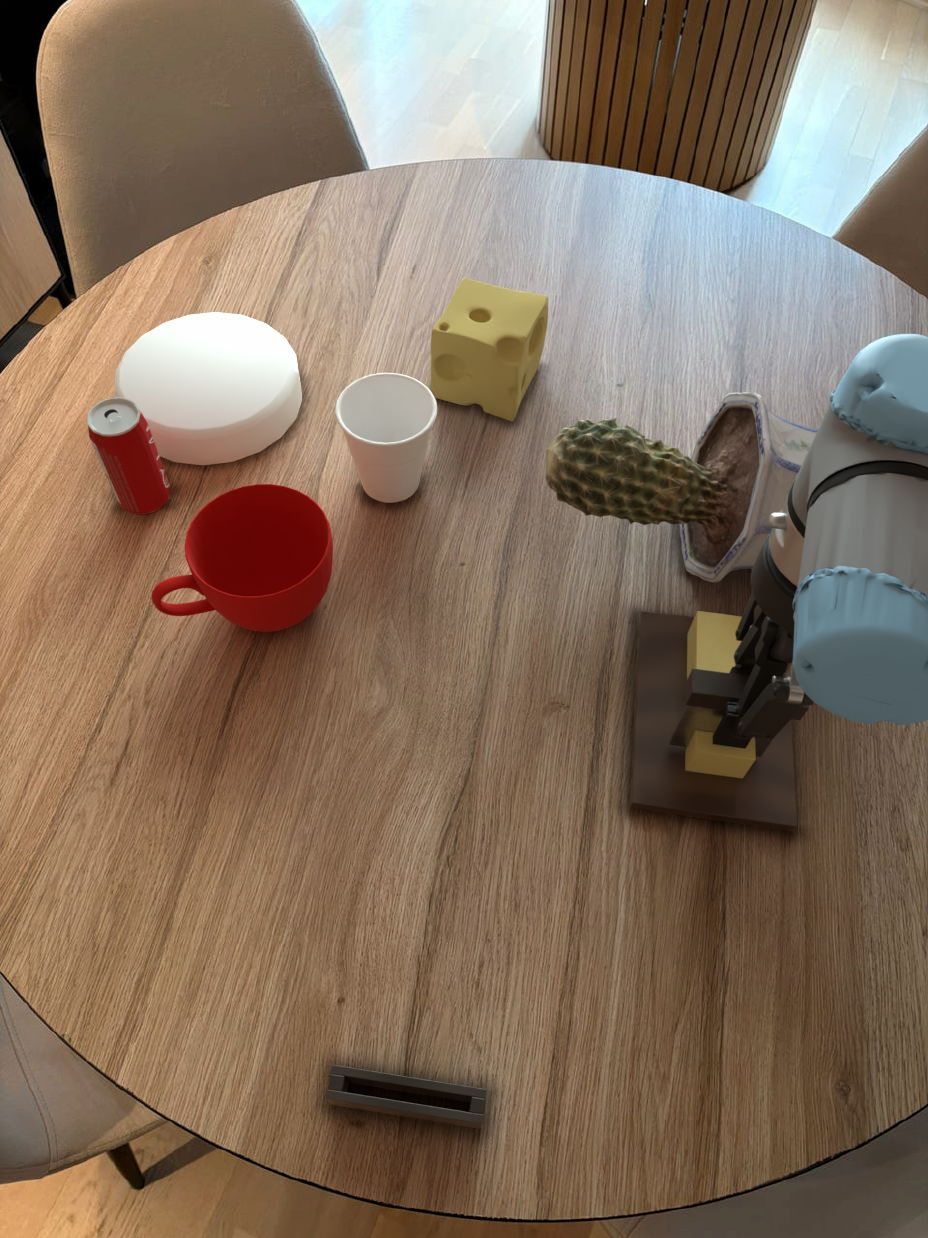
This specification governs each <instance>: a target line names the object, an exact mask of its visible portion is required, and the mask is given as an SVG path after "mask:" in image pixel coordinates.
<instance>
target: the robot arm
mask: <svg viewBox="0 0 928 1238" xmlns="http://www.w3.org/2000/svg"><path fill="white" fill-rule="evenodd" d="M828 399H829V404H828V407H827V409H826V411H825V413H824V415H823V417H822V420H821V422H820V424H819V427H818V429H817V430H818V431H817V433H816V435H815V437H814V439H813V442H812V444H811V446H810V448H809V450H808V452H807V455H806V457H805V459H804V461H803V463H802V465H801V468H800V470H799V472H798V474H797V476H796V479H795V481H794V483H793V485H792V487H791V489H790V491H789V494H788V496H787V498H786V500H785V502H784V505H783V507H782V509H781V511H780V513H773V514H771V515H770V518H769V521H768V524H769V526H770V527H771V528H772V530H771V533H770V534H769V535H768V537H767V538H766V540H765V542H764V545H763V547H762V549H761V551H760V553H759V555H758V557H757V559H756V562H755V564H754V566H753V568H751V573H750V589H751V594H750V597H749V598H748V601H747V604H746V606H745V609H744V611H743V613H742V615H741V617H742V618H741V621H740V623H739V626H738V628H737V630H736V633H735V636H736V640H737V641H742V642H741V643H740V645H739V647H738V648H737V650H736V651H735V654H734V659H735V666H734V667H732V669H731V671H730V672H729V673H731V674H739V675H746V676H750V677H749V679H748V681H747V683H746V685H745V688H744V690H743V692H742V694H741V696H740V698H739V700H737V699H733V700H732V702H727V705H726V712H725V714H724V716H723V718H722V720H721V722H720V723H719V725H718V727H717V729H716V731H715V733H714V734H713V744H715V745H722V746H729V747H736V748H744V749H746V747H747V745H748V744H749V742H750V741H751V739H752V737H759V738H767V739H773V738H774V737H775V736H776V735H777V734H778V733H779V732H780V731H781V730H782V729H783V728H784V726H785V725H786V724H787V723H788V722H789V721H790V720H791V719H792V718H793V717H794V716H795V715H796V713H797V712H798V711H799V710H800V709H801V708H802V707H803V706H809V707H810V706H813V705H814V703H815V704H816V705H818V706H819V707H820V708H821V709H824V710H825V711H827V712H829V713H831V714H833V715H835V716H837V717H840V718H843V719H846V720H850V721H852V722H857V723H862V724H867V725H873V724H875V723H878V722H889V723H891V724H894V725H896V726H904V725H913V724H918V723H922V722H926V721H928V336H925V335H923V334H920V333H899V334H892V335H888V336H884V337H881V338H878V339H875V340H874V341H872V342H870V343H868V344H867V345H866V346H864V347H863V348H862V349H860V350H859V351H858V353H857V354H856V355H855V357H854V358H853V359H852V361H851V362H850V364H849V366H848V367H847V370H846V371H845V373H844V375H843V377H842V378H841V380H840V381H839V383H838V385H837V386H836V388H835V389H834V390H832V391H831V393H830V395H829V398H828ZM751 625H752V626H751ZM750 626H751V627H750Z"/></svg>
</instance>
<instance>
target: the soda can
mask: <svg viewBox="0 0 928 1238" xmlns="http://www.w3.org/2000/svg"><path fill="white" fill-rule="evenodd" d="M86 418H87V419H86V421H87V422H86V423H87V427H88V437H89V440H90V442H91V445H92V447H93V450H94V452H95V453H96V456H97V459H98V460H99V464H100V465H101V468H102V470H103V472H104V475H105V476H106V479H107V481H108V483H109V486H110V488H111V490H112V493H113V495H114V497H115V500H116V502H117V504H118V505H119V506H120V507H121V508H122V510H124V511H125V512H129V513H131V514H135V515H147V514H150V513H154V512H156V511H158V510H160V509H161V508H162V507H164V506H165V505H166V504H167V502H168V501H169V499H170V495H171V491H172V487H171V484H170V482H169V479H168V477H167V473H166V470H165V468H164V464H163V462H162V459H161V456H159V453H158V451H157V448H156V445H155V442H154V439H153V437H152V434H151V431H150V428H149V425H148V423H147V421H146V419H145V417H144V415H143V414H142V412H141V411H140V410H139V408H138V407H137V405H136V404H135V402H133V401H132V400H130V399H127V398H121V397H116V396H115V397H109V398H106V399H103V400H101V401H98V402H97V403H96V404H94V405H93V406H92V407H91V408H90V410H88V413H87V415H86Z"/></svg>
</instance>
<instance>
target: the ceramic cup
mask: <svg viewBox="0 0 928 1238" xmlns="http://www.w3.org/2000/svg"><path fill="white" fill-rule="evenodd" d="M331 528H332V527H331V524H330V522H329V519H328V517H327V515H326V513H325V511H324V510H323V509H322V507H321V506H320V505H319V504H318V502H316V501H315V500H313V498H311V497H310V496H309V495H307V494H305V493H303V492H301V491H300V490H297V489H295V488H292V487H289V486H285V485H280V484H274V483H256V484H249V485H244V486H240V487H237V488H233V489H230V490H228V491H226V492H224V493H221V494H220V495H218V496H216V497H215V498H213V499H212V500H210V501H209V502H207V503H206V504H205V506H203V507H202V508H201V509H200V510H199V511H198V512H197V514H196V515H195V516H194V518H193V519H192V521H191V522H190V524H189V527H188V529H187V531H186V534H185V540H184V555H185V559H186V562H187V566H188V568H189V571H190V573H191V574H185V575H176V576H171V577H169V578H168V577H167V578H165V579H164V580H162V581H160V582H158V583H157V584H156V585H155V586H154V587H153V590H152V591H151V600H152V601H151V602H152V604H153V606H154V607H155V608H156V610H157V611H159V612H160V613H162V614H164V615H168V616H172V617H189V616H194V615H200V614H204V613H208V612H214V611H216V612H217V613H218V614H219V615H221V616H222V618H224V619H226V620H227V621H229V622H230V623H233V624H234V625H236V626H238V627H241V628H243V629H247V630H249V631H255V632H276V631H282V630H286V629H288V628H292V627H294V626H296V625H298V624H299V623H301V622H302V621H304V620H305V619H307V618H308V617H309V616H310V615H311V614H312V613H313V612H314V611H315V610H316V609H317V608H318V607H319V605H320V604H321V602H322V600H323V599H324V597H325V595H326V593H327V591H328V588H329V585H330V582H331V578H332V572H333V561H334V559H333V558H334V540H333V535H332V529H331ZM181 589H191V590H193V591H195V592H197V593H199V594H200V595H201V596H203V597H205V598H203V599H200V600H195V601H190V602H183V603H171V602H166V601H163V600H162V599H163V598H164V597H165V596H166V595H168V594H169V593H172V592H175V591H177V590H181Z"/></svg>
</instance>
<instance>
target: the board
mask: <svg viewBox="0 0 928 1238" xmlns="http://www.w3.org/2000/svg"><path fill="white" fill-rule="evenodd" d="M694 617H695V616H694ZM694 617H693V616H688V615H687V616H686V615H678V614H671V613H662V612H655V611H650V610H649V611H648V610H640V613H639V615H638V626H637V628H638V629H637V648H636V665H635V666H636V668H635V689H634V709H633V710H634V711H633V730H632V749H631V768H630V769H631V770H630V772H631V773H630V789H629V790H630V791H629V809H633V810H641V811H646V812H647V811H648V812H655V813H661V814H668V815H676V816H682V817H690V818H696V819H703V820H711V821H717V822H723V823H724V822H725V823H733V824H737V825H738V824H739V825H744V826H753V827H759V828H766V829H773V830H781V831H787V832H788V831H789V832H794V831H795V830H796V829H797V827H798V821H797V820H798V818H797V799H796V781H795V779H796V777H795V762H794V761H795V759H794V741H793V720H790V721H789V722H788V723H787V724H786V725H785V726H784V728H783V729H782V730H781V731H780V732H779V733H778V734H777V735H776V736H775V737H774V739H773V740H772V742H771V743H770V744H769V746H768V747H767V749H766V750H765V752H764V753H763V755H762V756H761V757H756V760H755V761H754V763H753V764H752V766H751V767H750V769H749V770H748V771H747V773H746V774H745V776H744V777H743V778H735V777H728V776H721V775H714V774H707V773H699V772H692V771H686V770H685V756H686V749H687V747H682V746H675V745H669V741H670V739H671V736H672V734H673V732H674V730H675V728H676V726H677V724H678V722H679V720H680V718H681V715H682V713H683V711H684V709H685V707H686V682H687V639H688V632H689V629H690V627H691V624H692V622H693V620H694Z"/></svg>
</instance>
